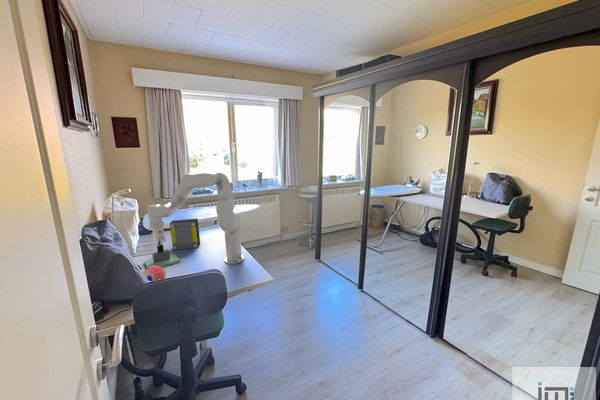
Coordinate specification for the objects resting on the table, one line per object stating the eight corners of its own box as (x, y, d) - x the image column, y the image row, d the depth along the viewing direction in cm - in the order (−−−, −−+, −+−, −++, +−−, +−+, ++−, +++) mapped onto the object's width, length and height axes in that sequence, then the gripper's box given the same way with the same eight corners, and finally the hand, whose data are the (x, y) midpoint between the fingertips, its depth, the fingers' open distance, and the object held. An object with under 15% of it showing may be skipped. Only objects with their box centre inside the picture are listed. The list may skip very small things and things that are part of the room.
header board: (180, 261, 171) (179, 255, 170) (149, 271, 159) (148, 263, 158) (173, 255, 181) (172, 248, 180) (144, 263, 169) (142, 256, 168)
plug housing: (170, 259, 171) (169, 250, 170) (154, 263, 165) (153, 254, 164) (168, 257, 174) (167, 248, 172) (153, 261, 168) (151, 253, 166)
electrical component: (172, 250, 189) (168, 224, 184) (175, 245, 198) (172, 220, 194) (198, 248, 192) (195, 222, 188) (200, 243, 202) (197, 218, 197)
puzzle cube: (166, 280, 148) (164, 267, 146) (153, 287, 141) (151, 274, 139) (156, 277, 151) (154, 265, 149) (143, 284, 144) (141, 271, 142)
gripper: (166, 225, 161) (170, 253, 165) (160, 220, 172) (163, 246, 176) (153, 228, 156) (157, 256, 160) (147, 222, 167) (151, 249, 171)
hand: (160, 251), depth 168 cm, fingers closed
